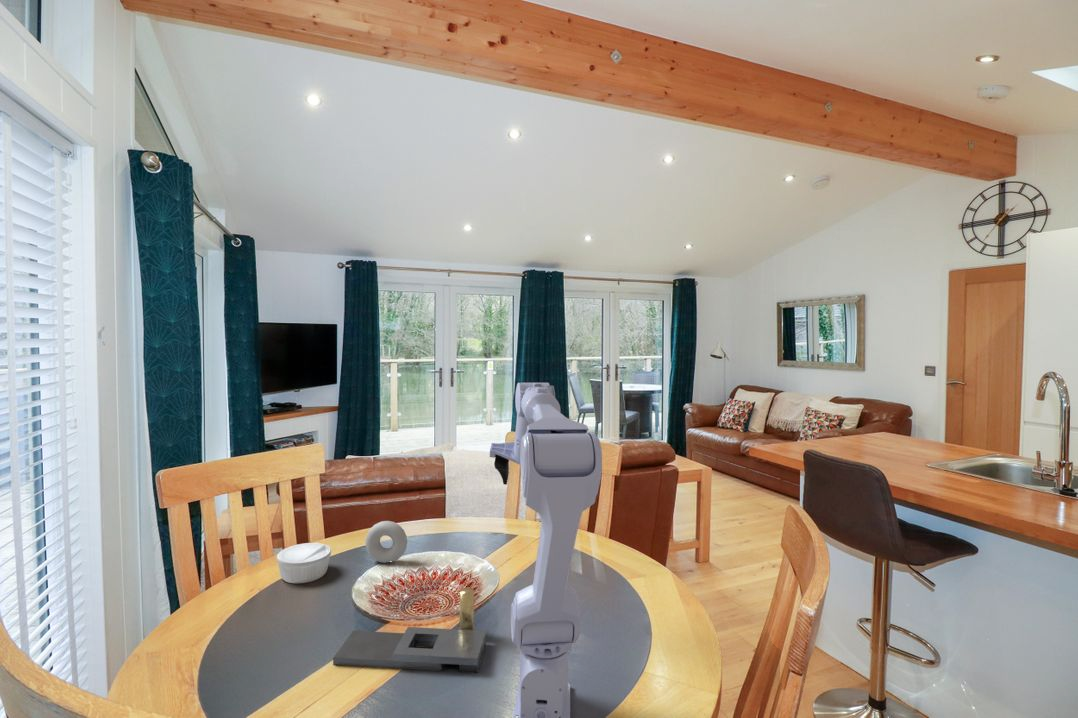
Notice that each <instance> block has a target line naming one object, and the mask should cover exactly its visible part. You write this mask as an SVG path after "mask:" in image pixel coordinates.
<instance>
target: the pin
mask: <svg viewBox="0 0 1078 718" xmlns="http://www.w3.org/2000/svg"><path fill="white" fill-rule="evenodd" d="M474 617H475V589H474V588H473V587H468V586H467V587H463V588H460V590H459V626H458V627H459V629H458V630H475V626H474V625H475V622H474V621H475V618H474Z"/></svg>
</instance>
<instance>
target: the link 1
mask: <svg viewBox="0 0 1078 718" xmlns="http://www.w3.org/2000/svg"><path fill="white" fill-rule="evenodd" d="M404 633H405V632H403V633H402V632H389V631H388V632H387V631H370V630H369V631H367V630H352V631H351V633H350V635H349V636H348V637H347V639H345V641H344V642H343V644H342V645H341V646H340V648H339V649H338V651H337V652H336V653H335V655H334V656H333V657H332V659H333V660H332V665H333V666H347V667H348V666H352V667H369V668H384V669H385V668H386V669H404V670H422V671H424V670H425V671H440V672H441V671H442V670H443V669H442V668H443V666H444V664H439V663H421V662H403V661H393V652H394V651H395V649H396V647H397V645H398V644H399V642H400V640H401V638H402V637H403V635H404ZM435 642H436V641H422V640H415V641H414V643H413V645H412V647H411V648H427V649H433V647H434V645H435Z"/></svg>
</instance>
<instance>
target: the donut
mask: <svg viewBox="0 0 1078 718" xmlns="http://www.w3.org/2000/svg"><path fill="white" fill-rule="evenodd" d="M384 536H387V537H390V539H391V540H392V545H391V546H390V547H388V548H387V547H384V546H383V545H382V544H381V538H382V537H384ZM407 546H408V537H407V534H406V532H405V530H404V529H403V527H402V526H401V525H399V524H398V523H396V522H395V521H391V520H382V521H380V522H377V523H375V524H374V525H372V527H370V529H369V530H368V532H367V534H366V537H365V547H366V549H365V550H366V551H367V552H368V554H369V556H370V557H371V558H372V559H373V560H375V561H377V562H378V563H382V564H387V563H386V562H390V561H394V562H396V561H398V560H399V559H400V558H401V557H403V555H404V554H405V552H406V550H407ZM395 560H396V561H395Z"/></svg>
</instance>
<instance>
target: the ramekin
mask: <svg viewBox="0 0 1078 718" xmlns="http://www.w3.org/2000/svg"><path fill="white" fill-rule="evenodd" d="M331 555H332V549H331V547H330V545H328V544H326V543H325V544H324V543H321V542H306V543H303V542H302V543H299V544H294V545H290V546H287V547H286V548H283V549H281V550H280V551H279V552H278V553H277V555H276V562H277V563H278V570H279V575H280V578H281V579H282V580H283V581H284V582H286V583H288V584H306V583H310V582H315V581H317V580H318V579H320V578H322V577H324V575H325V574H326V573H327V572H328V571H327V570H328V567H329V562H330V558H331Z"/></svg>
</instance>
